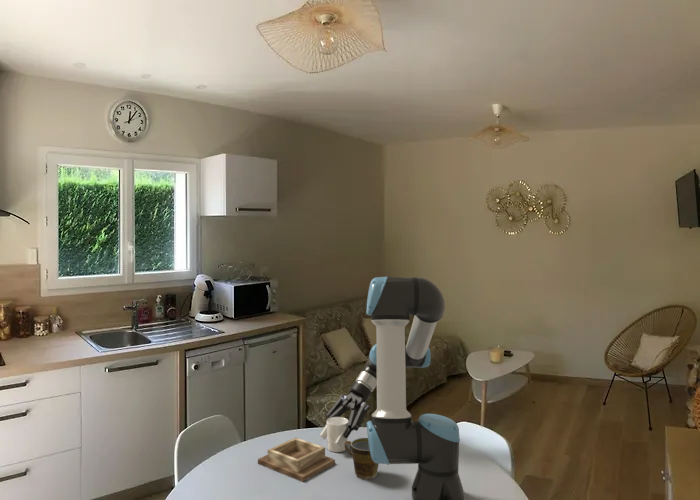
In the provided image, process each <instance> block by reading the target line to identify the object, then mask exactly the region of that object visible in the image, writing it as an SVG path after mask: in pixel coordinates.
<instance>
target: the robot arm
mask: <svg viewBox="0 0 700 500" xmlns="http://www.w3.org/2000/svg"><path fill="white" fill-rule="evenodd" d="M444 297H445V296H444V294H443V293H442V291H441V289H440V288H439V287H438V286H437V285H436V284H435V283H434V282H432V281H431V280H429V279H427V278H424V277H418V276H417V277H411V276H410V277H408V276H407V277H406V276H401V277H400V276H377V277H374V278H372V279H371V281H370V283H369V287H368V293H367V299H366V311H365V313H366V315H367V316H368V317H370V316H371V318H370V319H371V322H372V324H373V325H374V326H375V327H376V328H375V329H376V335H375V336H376V343H375V344H374V345H373V346H372V347H371V349H370V351H369V354H368V359H367V361H366V363H365V365H364V367H363V369H362V370H361V371H360V373H359V375H358V376H357V377H356V379H355V381H354V382H353V384H352V386H351V387H350V389H349V393H348V394H347V395H344V394H343V393H342V394H340V395H339V398H338V399H337V401H336V402H335V403H333V406H332V407H331V408H330V409H329V411H328V412H327V413H326V415H325V416H326V418H327V419H329V418H332V417H342V415H344V414H345V413H346V411H348V412H349V410H350V415H349V419H348V420H349V422H348V425H346V426H347V427H348V428H347V427H346V426H345V428H344V429H343V431H342V432H341V434H340V435H339V437H338V439H337V440H336V442H335V443H336V444H337V445H338V446H339V447H341V446H342V444H343V442H344V441H345V439H346V438H347V439H348V438H349V437H350V435H351V433H352V432H353V431H359V429H360V426H361V424H362V422H363V420H364V418H365V415H366V413H367V412H368V411H369V409H370V405H368V403H366V402H367V401H368V400H369V398H370V397H371V396H372V392H374V390H375V389H376V410H375V411H374V412H373V413H372V414H371V420H369V421H367V422H366V433H367V438H368V442H369V449H370V454H371V458H372V460H373V461H374V462H375V463H378V464H379V465H381V464H382V465H387V466H388V465H394V464H395V465H401V464H402V465H405V464H406V465H409V464H411V465H415V464H416V465H417V464H418V465H417V472H416V473H415V477H414V479H413V482H412V486H411V498H412V500H465V491H464V487H463V483H462V480H461V478H460V474H459V466H460V465H459V462H460V459H459V457H460V441H461V439H460V428H459V425H458V424H457V422H455V420H453V419H451V418H449V417H447V416H444V415H441V414H436V413H424V414H421V415H420V416H419V418H417V419H418V420H415V421H413V420H412V414H411V413H410V412H409V411H408V410H407V397H406V396H407V395H406V394H407V390H406V389H407V386H406V385H407V382H406V368H410V369H411V368H417V369H421V368H429V367H430V365H431V358H432V357H431V355H432V354H431V349H430V347H429V346H430V343H431V341H432V337H433V335H434V332H435V330H436V327H437V323H438V322H439V321H440V320H441V319H443V316H444V313H445V310H446V302H445V301H446V300H445V298H444ZM411 316H413V320H412V324H411V326H410V330H409V335H408V338H407V342H406V333H405V332H406V331H405V330H406V326H407V325H408V324H409V323H410V321H411V320H410V317H411ZM323 427H324V428H323V429H322V431H321V432H320V434H319V437H321V438H322V439H323V440H327V422H326V423H325V424H324V426H323Z"/></svg>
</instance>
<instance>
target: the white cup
mask: <svg viewBox="0 0 700 500" xmlns="http://www.w3.org/2000/svg"><path fill="white" fill-rule="evenodd" d="M348 422H349V419H348V418H347V417H346V418H345V417H344V416H343V417H342V416H340V417H332V418H329V419H328V418H327V419H326V423H327V437H326V440H327V450H328V451H330V452H333V453H342V452H345V451H347V450H346V448H345V442H347V441H348V438H346V439H345V441H344V442H343V444H342V446H341V447H339V446H338V445H337V444H336V443H335V442H336V440H337V439H338V437H339V435H340V434H341V432H342V431H343V429H344V428H345V426H346V425H348ZM346 427H347V426H346ZM347 428H348V427H347ZM347 445H348V443H346V447H347ZM347 448H348V447H347Z"/></svg>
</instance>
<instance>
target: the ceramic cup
mask: <svg viewBox="0 0 700 500" xmlns="http://www.w3.org/2000/svg"><path fill="white" fill-rule="evenodd" d="M346 443H347V445H350V449H351V450H349V448H348V447H346ZM345 448H346V450H345V451H347V452H348V454H349V455H350V456H351V458H352V461H353V467H354V474H355V475H356V477H357V478H358V479H361V480H373V479H374V478H376V477H377V474H378V468H379V465H380V464H378V463H375V462H374V461H373V460H372V458H371V454H370V449H369V442H368V437H359V438H356V439H353V440H352V441H350V440H347V442H345Z"/></svg>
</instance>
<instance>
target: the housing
mask: <svg viewBox="0 0 700 500" xmlns="http://www.w3.org/2000/svg"><path fill="white" fill-rule="evenodd" d="M257 464H258V465H260V466H263V467H265V468H268V469H270V470H273V471H276V472H278V473H280V474H282V475H285V476H287V477H289V478H292V479H295V480H297V481H299V482H302V483H304V481H306V480H309V479H311V478H312V477H314V476H317V474H319V473H321V472H322V471H325V470H326V469H328V468H330V467H332V466H334V465H335V464H336V459H335V458H333V457H330V456H327V455H326V446H325V447H324V446H322V445H318V444H316V443H312V442H310V441H307V440H304V439H301V438H297V437H293V438H291V439H290V440H287V441H285V442H283V443H280V444H278V445H276V446H273V447H271V448H269V449H268V450H267V454H266V455H264V456H262V457H259V458H257Z"/></svg>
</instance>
